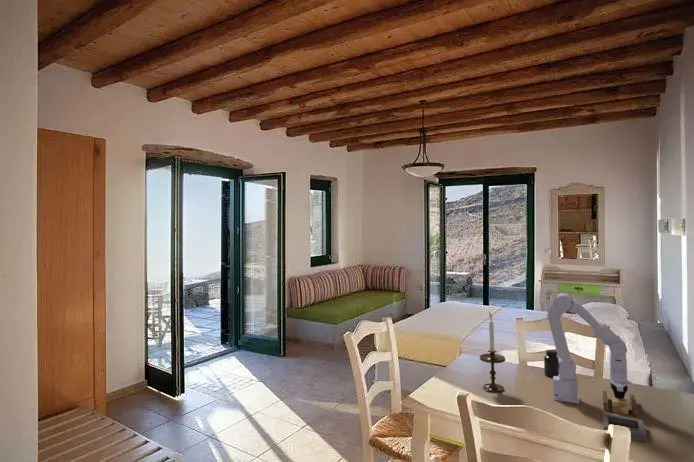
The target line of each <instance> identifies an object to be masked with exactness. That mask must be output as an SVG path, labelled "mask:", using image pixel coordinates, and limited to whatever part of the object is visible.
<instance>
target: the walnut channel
mask: <svg viewBox="0 0 694 462" xmlns="http://www.w3.org/2000/svg"><path fill="white" fill-rule="evenodd" d="M629 403H630V407H631V408H630V409H631V413H632V416H637V417H638V416H639V415H638V414H639V407H638V404H637V401H636V397H635V394H631V393H630V394H629ZM602 405H603V411H607V412H609V399H608V390H602Z"/></svg>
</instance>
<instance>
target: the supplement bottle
mask: <svg viewBox="0 0 694 462" xmlns="http://www.w3.org/2000/svg"><path fill="white" fill-rule="evenodd" d="M543 361H544V362H543V363H544V364H543V370H544V376H546V377H547V378H548V377H549V378H553V376H558V375H559V368H560V365H559V360H558V354H557V351H556V349H555V350H554V349H546V351H545V356H543Z"/></svg>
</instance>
